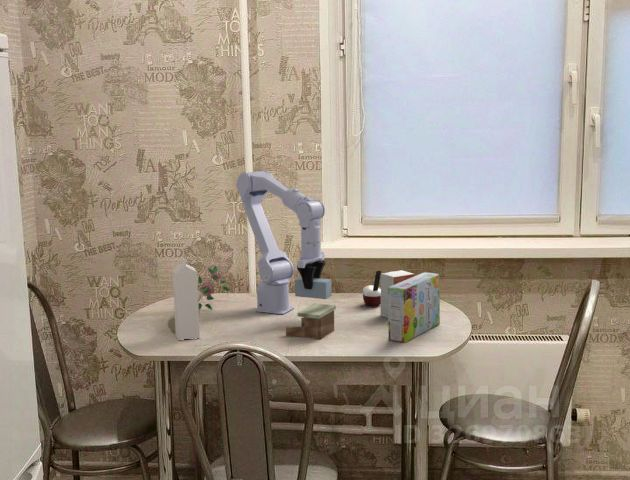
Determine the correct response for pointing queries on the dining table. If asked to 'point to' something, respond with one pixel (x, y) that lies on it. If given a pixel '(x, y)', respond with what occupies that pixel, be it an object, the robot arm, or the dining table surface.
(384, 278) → the small box
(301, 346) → the dining table surface
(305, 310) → the awning socket
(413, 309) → the snack box
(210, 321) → the dining table surface
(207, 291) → the flower vase
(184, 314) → the milk
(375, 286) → the cocoa
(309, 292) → the peg
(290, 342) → the dining table surface
